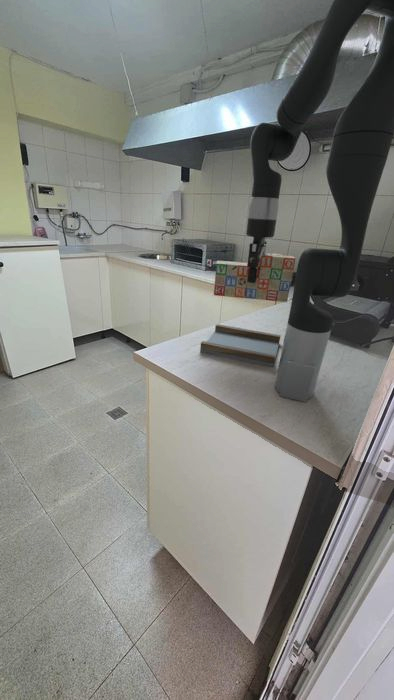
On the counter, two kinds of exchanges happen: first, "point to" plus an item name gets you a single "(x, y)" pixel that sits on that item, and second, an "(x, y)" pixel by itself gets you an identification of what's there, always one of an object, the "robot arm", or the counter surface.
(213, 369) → the counter surface
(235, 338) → the tray
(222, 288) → the stack of blocks
